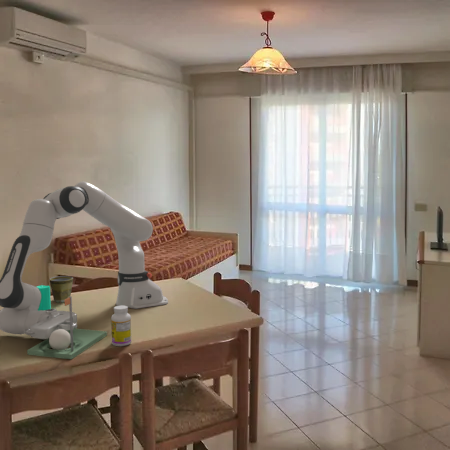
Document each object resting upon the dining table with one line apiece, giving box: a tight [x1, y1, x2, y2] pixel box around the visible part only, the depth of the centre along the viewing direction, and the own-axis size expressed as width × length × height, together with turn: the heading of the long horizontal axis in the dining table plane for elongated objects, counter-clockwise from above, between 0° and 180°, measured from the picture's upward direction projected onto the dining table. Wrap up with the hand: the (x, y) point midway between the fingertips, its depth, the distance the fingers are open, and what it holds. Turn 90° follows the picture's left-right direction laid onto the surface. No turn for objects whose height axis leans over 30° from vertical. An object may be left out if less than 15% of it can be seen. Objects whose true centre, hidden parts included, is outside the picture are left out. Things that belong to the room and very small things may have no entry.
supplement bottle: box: [110, 305, 132, 347], centre depth 187 cm, size 7×7×13 cm
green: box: [27, 296, 108, 360], centre depth 185 cm, size 24×16×20 cm, turn 165°
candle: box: [36, 284, 52, 311], centre depth 226 cm, size 6×6×12 cm
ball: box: [49, 329, 71, 350], centre depth 181 cm, size 7×7×7 cm
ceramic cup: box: [48, 275, 74, 303], centre depth 244 cm, size 13×10×10 cm
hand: (75, 326), depth 188 cm, fingers closed
